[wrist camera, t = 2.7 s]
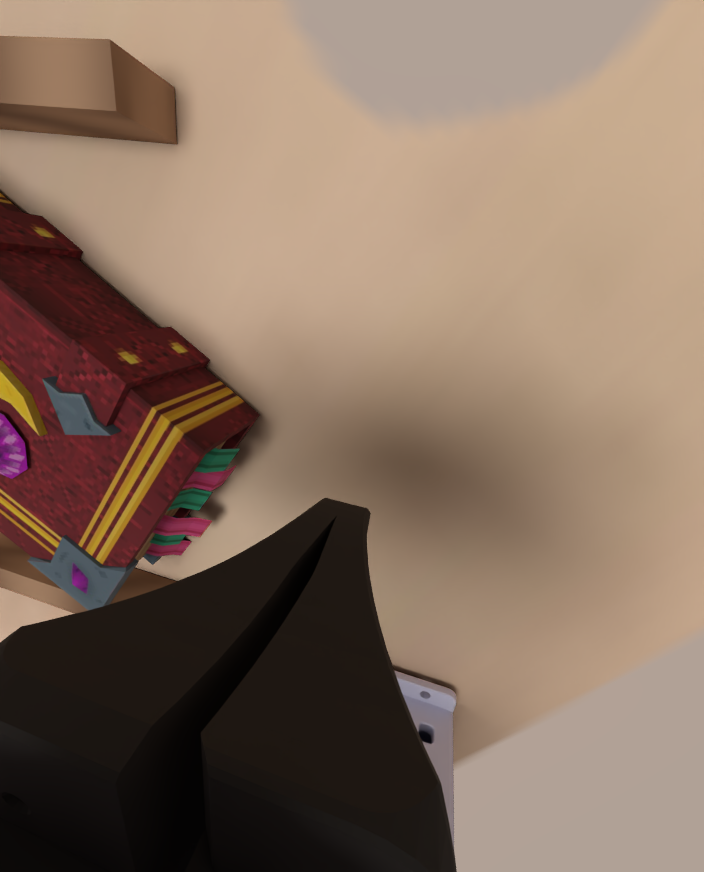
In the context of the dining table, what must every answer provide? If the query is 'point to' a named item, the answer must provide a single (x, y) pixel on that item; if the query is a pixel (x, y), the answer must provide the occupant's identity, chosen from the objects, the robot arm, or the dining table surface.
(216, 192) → the dining table surface
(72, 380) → the decorative book
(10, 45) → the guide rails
